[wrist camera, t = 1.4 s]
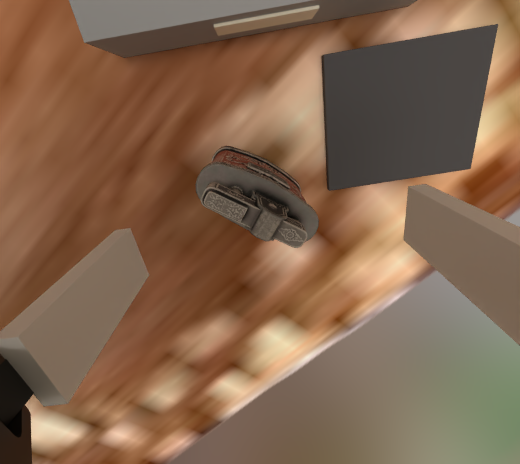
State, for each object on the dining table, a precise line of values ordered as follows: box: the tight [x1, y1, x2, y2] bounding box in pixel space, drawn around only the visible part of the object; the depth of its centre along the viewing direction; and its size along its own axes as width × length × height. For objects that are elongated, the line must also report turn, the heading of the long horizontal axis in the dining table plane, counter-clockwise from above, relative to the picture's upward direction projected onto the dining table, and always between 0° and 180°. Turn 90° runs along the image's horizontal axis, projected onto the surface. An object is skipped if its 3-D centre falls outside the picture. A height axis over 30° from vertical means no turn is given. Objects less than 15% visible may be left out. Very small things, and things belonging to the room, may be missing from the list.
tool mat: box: [322, 24, 498, 191], centre depth 21 cm, size 12×10×1 cm
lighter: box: [196, 146, 319, 248], centre depth 18 cm, size 8×3×10 cm, turn 63°
